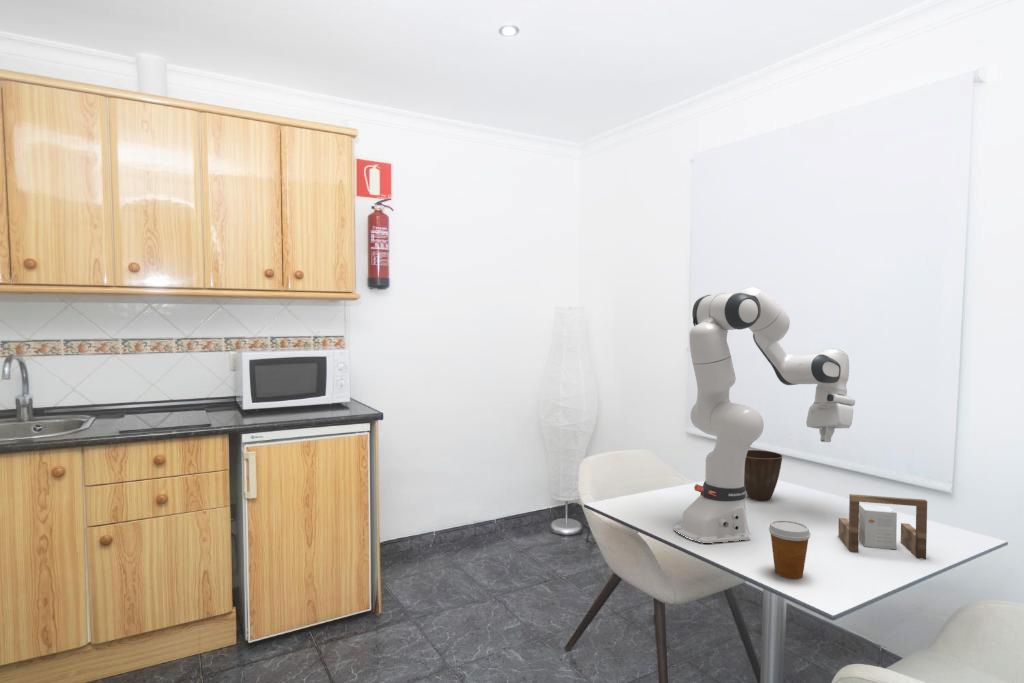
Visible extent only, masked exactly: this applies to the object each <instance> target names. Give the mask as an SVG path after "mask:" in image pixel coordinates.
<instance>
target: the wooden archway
mask: <svg viewBox="0 0 1024 683" xmlns="http://www.w3.org/2000/svg"><path fill="white" fill-rule="evenodd" d="M848 497H849V500H848V501H849V503H848V504H849V505H848V509H849V510H848V519H847V518H842V517H838V529H837V530H838V533H837V534H838V535H837V537H838V538H839V539H840V541H841V542H842V544H844V546H845V547H846V548H847V550H848V552H850V553H859V544H860V543H859V542H860V540H859V505H860V503H871V504H882V505H884V504H885V505H896V506H911V507H915V527H913V526H912V525H911V523H905V522H904V523H903V522H901V523H900V543H901V544H902V545H903V546H904V547H905V548H906V549H907V550H908V551H909V552H911V554H912V555H913V556H914V557H915V558H916V559H919V558H923V559H922V560H926V559H927V542H928V541H927V537H928V536H927V535H928V534H927V533H928V500H926V499H922V498H921V499H920V498H906V497H895V496H893V497H891V496H879V495H868V494H867V495H865V494H863V495H862V494H851V493H850V494H849V496H848Z"/></svg>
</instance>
